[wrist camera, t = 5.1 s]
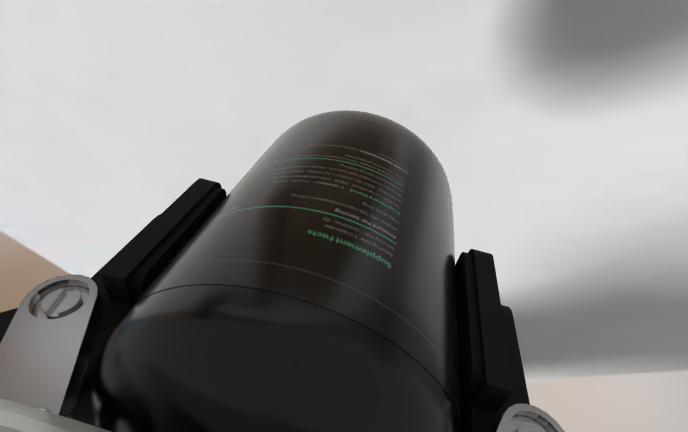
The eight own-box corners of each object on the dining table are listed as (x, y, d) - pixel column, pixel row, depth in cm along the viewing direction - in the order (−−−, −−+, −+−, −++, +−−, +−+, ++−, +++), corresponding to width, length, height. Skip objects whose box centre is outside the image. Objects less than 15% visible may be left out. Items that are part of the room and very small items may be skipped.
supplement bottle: (414, 285, 15) (369, 824, 6) (260, 237, 16) (-18, 677, 6) (487, 140, 11) (730, 1186, 2) (274, 77, 12) (-504, 681, 2)
